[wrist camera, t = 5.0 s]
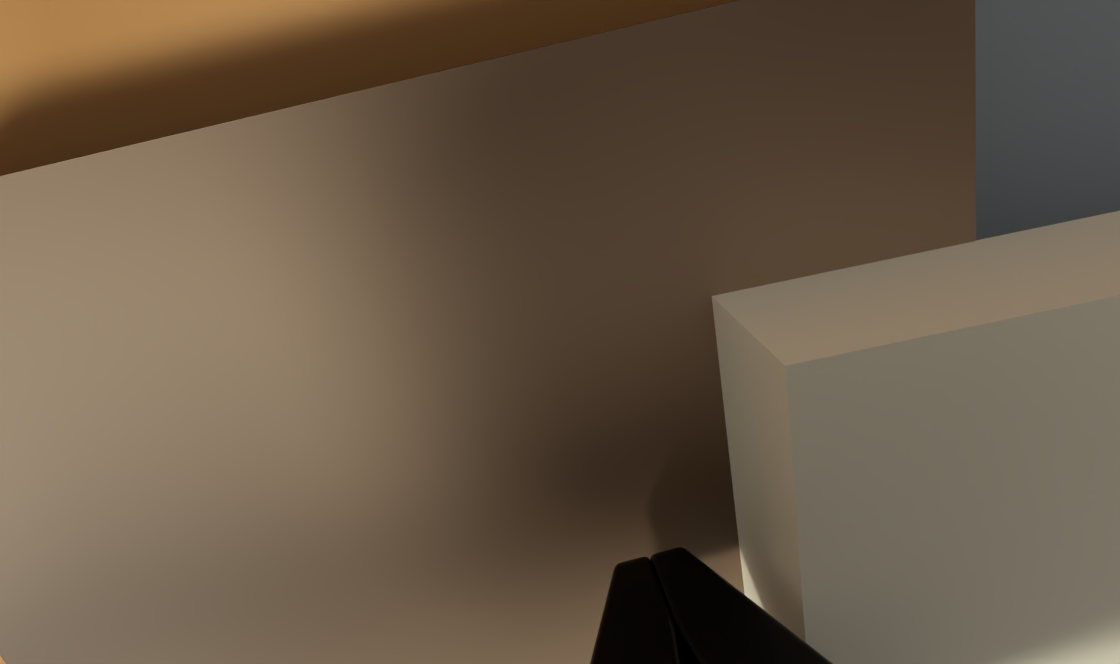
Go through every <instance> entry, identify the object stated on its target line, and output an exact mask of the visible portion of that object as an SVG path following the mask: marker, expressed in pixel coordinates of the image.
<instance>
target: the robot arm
mask: <svg viewBox="0 0 1120 664" xmlns="http://www.w3.org/2000/svg"><path fill="white" fill-rule="evenodd" d="M590 664H833V663H831V662H830V661H829V660H827V659H826V658H825V657H824V656H822V655H821V654H820V653H818V652H817V651H816V650H815V649H813V648H812V647H811V646H810V645H808V644H807V643H806V642H804V641H803V640H802V639H801V638H799V637H798V636H797V635H795V634H794V633H793V632H792V631H790V630H789V629H788V628H786V627H785V626H784V625H783V624H781V623H780V622H779V621H778V620H776V619H775V618H774V617H772V616H771V615H770V614H769V613H767V612H766V611H765V610H763V609H762V608H761V607H760V606H758V605H757V604H756V603H754V602H753V601H752V600H751V599H749V598H748V597H747V596H746V595H744V594H743V593H742V592H740V591H739V590H738V589H737V588H735V587H734V586H733V585H731V584H730V583H729V582H728V581H726V580H725V579H724V578H722V577H721V576H720V575H719V574H717V573H716V572H715V571H714V570H712V569H711V568H710V567H708V566H707V565H706V564H705V563H703V562H702V561H701V560H699V559H698V558H697V557H696V556H694V555H693V554H692V553H690V552H689V551H688V550H687V549H685V548H682V547H677V548H673V549H670V550H666V551H662V552H658V553H655V554H653V555H652V556H651V558H650V559H649V558H648V557H645V556H644V557H639V558H636V559H632V560H628V561H624V562H621V563H618V564H617V565H616V566H615V568H614V570H613V574H612V578H611V582H610V586H609V590H608V594H607V598H606V602H605V606H604V610H603V614H602V618H601V622H600V626H599V630H598V634H597V637H596V641H595V645H594V649H593V653H592V657H591V661H590Z"/></svg>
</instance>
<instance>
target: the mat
mask: <svg viewBox="0 0 1120 664" xmlns="http://www.w3.org/2000/svg"><path fill="white" fill-rule="evenodd" d="M975 64H976V240H981V239H985V238H990V237H995V236H1000V235H1005V234H1010V233H1014V232H1019V231H1024V230H1029V229H1034V228H1038V227H1043V226H1048V225H1053V224H1058V223H1062V222H1067V221H1072V220H1077V219H1082V218H1087V217H1091V216H1096V215H1101V214H1106V213H1111V212H1115V211H1120V0H975Z"/></svg>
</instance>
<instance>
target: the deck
mask: <svg viewBox="0 0 1120 664" xmlns="http://www.w3.org/2000/svg"><path fill="white" fill-rule="evenodd" d="M973 241H976V64H975V0H738V1H734V2H729V3H725V4H721V5H717V6H713V7H708V8H704V9H700V10H696V11H692V12H687V13H683V14H679V15H675V16H671V17H666V18H662V19H658V20H654V21H650V22H645V23H641V24H637V25H633V26H629V27H624V28H620V29H616V30H612V31H608V32H603V33H599V34H595V35H591V36H587V37H582V38H578V39H574V40H570V41H566V42H561V43H557V44H553V45H549V46H545V47H540V48H536V49H532V50H528V51H524V52H519V53H515V54H511V55H507V56H503V57H498V58H494V59H490V60H486V61H482V62H477V63H473V64H469V65H465V66H461V67H456V68H452V69H448V70H444V71H440V72H435V73H431V74H427V75H423V76H419V77H414V78H410V79H406V80H402V81H398V82H393V83H389V84H385V85H381V86H377V87H372V88H368V89H364V90H360V91H356V92H351V93H347V94H343V95H339V96H335V97H330V98H326V99H322V100H318V101H314V102H309V103H305V104H301V105H297V106H293V107H288V108H284V109H280V110H276V111H272V112H267V113H263V114H259V115H255V116H251V117H246V118H242V119H238V120H234V121H230V122H225V123H221V124H217V125H213V126H209V127H204V128H200V129H196V130H192V131H188V132H183V133H179V134H175V135H171V136H167V137H162V138H158V139H154V140H150V141H146V142H141V143H137V144H133V145H129V146H125V147H120V148H116V149H112V150H108V151H104V152H99V153H95V154H91V155H87V156H83V157H78V158H74V159H70V160H66V161H62V162H57V163H53V164H49V165H45V166H41V167H36V168H32V169H28V170H24V171H20V172H15V173H11V174H7V175H3V176H0V655H1V657H2V658H3V660H4V661H5V663H6V664H590V661H591V657H592V653H593V649H594V645H595V641H596V637H597V634H598V630H599V626H600V622H601V618H602V614H603V610H604V606H605V602H606V598H607V594H608V590H609V586H610V582H611V578H612V574H613V570H614V568H615V566H616V565H617V564H618V563H621V562H624V561H628V560H632V559H636V558H639V557H644V556H645V557H648V558H649V559H650V558H651V556H652V555H653V554H655V553H658V552H662V551H666V550H670V549H673V548H677V547H682V548H685V549H687V550H688V551H689V552H690V553H692V554H693V555H694V556H696V557H697V558H698V559H699V560H701V561H702V562H703V563H705V564H706V565H707V566H708V567H710V568H711V569H712V570H714V571H715V572H716V573H717V574H719V575H720V576H721V577H722V578H724V579H725V580H726V581H728V582H729V583H730V584H731V585H733V586H734V587H735V588H737V589H738V590H739V591H740V592H742V593H743V594H744V585H743V576H742V567H741V558H740V549H739V540H738V530H737V521H736V512H735V503H734V494H733V485H732V476H731V467H730V458H729V449H728V440H727V431H726V422H725V413H724V404H723V395H722V386H721V377H720V367H719V358H718V349H717V340H716V331H715V322H714V313H713V304H712V296H714V295H719V294H724V293H729V292H734V291H738V290H743V289H748V288H753V287H758V286H762V285H767V284H772V283H777V282H782V281H786V280H791V279H796V278H801V277H806V276H810V275H815V274H820V273H825V272H830V271H834V270H839V269H844V268H849V267H853V266H858V265H863V264H868V263H873V262H877V261H882V260H887V259H892V258H897V257H901V256H906V255H911V254H916V253H921V252H925V251H930V250H935V249H940V248H945V247H949V246H954V245H959V244H964V243H969V242H973ZM744 595H745V594H744Z"/></svg>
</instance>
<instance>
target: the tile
mask: <svg viewBox="0 0 1120 664" xmlns="http://www.w3.org/2000/svg"><path fill="white" fill-rule="evenodd" d="M712 304H713V313H714V322H715V331H716V340H717V349H718V358H719V367H720V377H721V386H722V395H723V404H724V413H725V422H726V431H727V440H728V449H729V458H730V467H731V476H732V485H733V494H734V503H735V512H736V521H737V530H738V540H739V549H740V558H741V567H742V576H743V585H744V594H745V595H746V596H747V597H748V598H749V599H751V600H752V601H753V602H754V603H756V604H757V605H758V606H760V607H761V608H762V609H763V610H765V611H766V612H767V613H769V614H770V615H771V616H772V617H774V618H775V619H776V620H778V621H779V622H780V623H781V624H783V625H784V626H785V627H786V628H788V629H789V630H790V631H792V632H793V633H794V634H795V635H797V636H798V637H799V638H801V639H802V640H803V641H804V642H806V643H807V644H808V645H810V646H811V647H812V648H813V649H815V650H816V651H817V652H818V653H820V654H821V655H822V656H824V657H825V658H826V659H827V660H829V661H830V662H831V663H833V664H1120V211H1115V212H1111V213H1106V214H1101V215H1096V216H1091V217H1087V218H1082V219H1077V220H1072V221H1067V222H1062V223H1058V224H1053V225H1048V226H1043V227H1038V228H1034V229H1029V230H1024V231H1019V232H1014V233H1010V234H1005V235H1000V236H995V237H990V238H985V239H981V240H976V241H973V242H969V243H964V244H959V245H954V246H949V247H945V248H940V249H935V250H930V251H925V252H921V253H916V254H911V255H906V256H901V257H897V258H892V259H887V260H882V261H877V262H873V263H868V264H863V265H858V266H853V267H849V268H844V269H839V270H834V271H830V272H825V273H820V274H815V275H810V276H806V277H801V278H796V279H791V280H786V281H782V282H777V283H772V284H767V285H762V286H758V287H753V288H748V289H743V290H738V291H734V292H729V293H724V294H719V295H714V296H712Z"/></svg>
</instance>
